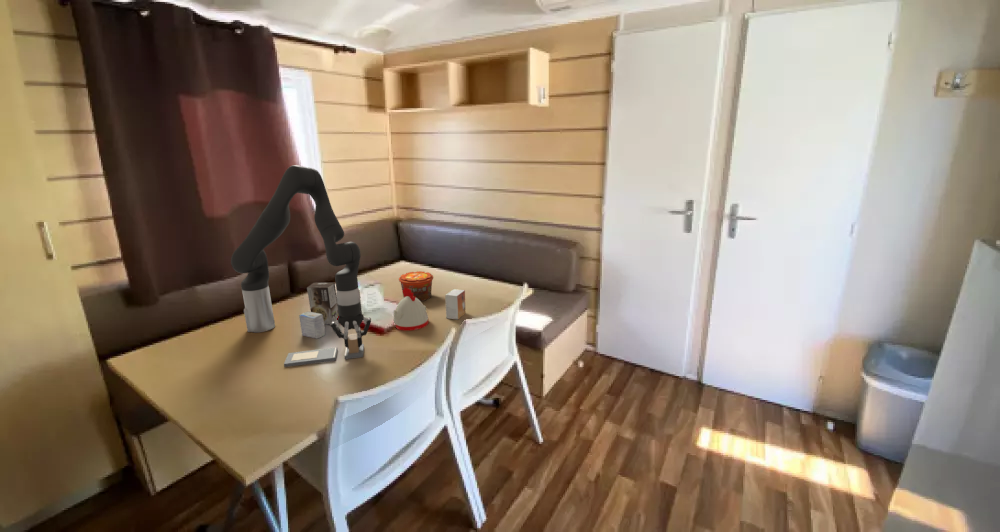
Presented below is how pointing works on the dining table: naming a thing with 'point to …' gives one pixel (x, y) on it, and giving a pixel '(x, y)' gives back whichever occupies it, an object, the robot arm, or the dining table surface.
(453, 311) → the small box
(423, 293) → the food container
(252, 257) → the robot arm
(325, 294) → the coffee box
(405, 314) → the kitchen timer
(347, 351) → the stub
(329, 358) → the ticket
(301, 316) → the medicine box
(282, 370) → the dining table surface
